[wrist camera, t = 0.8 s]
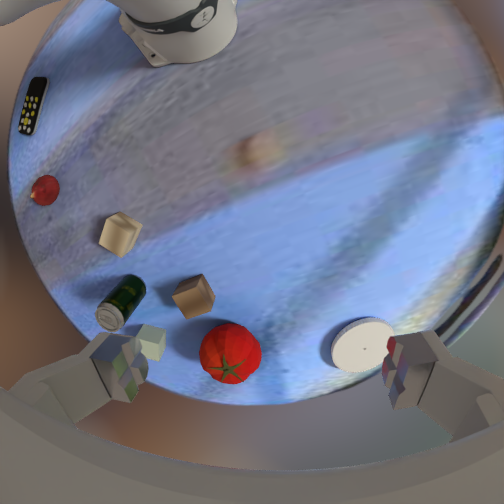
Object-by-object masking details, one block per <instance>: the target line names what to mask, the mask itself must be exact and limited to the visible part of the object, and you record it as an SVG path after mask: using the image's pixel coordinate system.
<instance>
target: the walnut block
mask: <svg viewBox="0 0 504 504" xmlns="http://www.w3.org/2000/svg"><path fill="white" fill-rule="evenodd" d="M215 297H216V296H215V295H214V293H213V291H212V289H211V288H210V286H209V284H208V282H207V281H206V279H205V277H204V275H203V274H201V275H198V276H196V277H193V278H191V279H188V280H186V281H183V282H181V283H179V285H178V287H177V288H176V290H175V292H174V293H173V295H172V298H173V299H174V301H175V303H176V304H177V306H178V307H179V309H180V310H181V312H182V314H183V315H184V317H185V318H186V319H189V318H192V317H195V316H198V315H201V314H204V313H207V312H210V311H211V309H212V306H213V303H214V300H215Z"/></svg>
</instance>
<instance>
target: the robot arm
mask: <svg viewBox="0 0 504 504" xmlns="http://www.w3.org/2000/svg"><path fill="white" fill-rule="evenodd" d="M56 1H60V0H0V26H3V25H6V24H9V23H11V22H14V21H15V20H17V19H19V18H20V17H22V16H24V15H25V14H27V13H29V12H31V11H33V10H35V9H37V8H39V7H42V6H44V5H47V4H49V3H52V2H56ZM106 1H108V2H110V3H112V4H114V5H115V6H117V7H119V8H120V10H121V12H122V13H121V16H120V18H119V23H120V24H121V26H122V30H123V31H124V32H125V33H126V34H127V35H129V36H130V37H131V39H132V40H133V41H134V43H135V44H136V45H137V46H138V48H139V49H140V50H141V52H142V53H143V54H144V56H145V57H146V58H147V60H148V61H149V62H150V64H151V65H152V66H153V67H161V66H164V65H167V64H170V63H193V62H198V61H202V60H205V59H207V58H210V57H212V56H214V55H215V54H217V53H218V52H220V51H221V50H222V49H224V48H225V47H226V46H227V45H228V44H229V42H230V41H231V40H232V38H233V36H234V34H235V32H236V29H237V16H236V12H235V7H236V4H237V0H106ZM154 54H156V55H155V57H153V58H152V56H153V55H154ZM141 349H142V344H141V342H140V339H139V338H137V337H135V336H128V335H121V334H113V333H107V332H101V333H99V334H98V335H97V336H96V337H95V338H94V339H93V340H92V341H91V342H90V343H89V344H88V345H87V346H86V347H85V348H84V349H83V350H82V351H81V352H80V353H79V354H78V355H72V356H70V357H67V358H65V359H62V360H60V361H57V362H55V363H52V364H50V365H47V366H45V367H42V368H40V369H37V370H34V371H32V372H29V373H27V374H25V375H24V376H23V377H22V378H21V379H20V380H19V381H18V382H17V383H16V384H15V385H14V386H13V387H12V388H11V389H10V390H9V391H6V390H5V389H3V388H1V387H0V504H504V379H503V378H501V377H498V376H496V375H494V374H492V373H490V372H488V371H486V370H483V369H481V368H479V367H477V366H475V365H473V364H470V363H468V362H467V361H464V360H462V359H460V358H458V357H455V358H453V357H452V355H451V354H450V352H449V351H448V350H447V348H446V347H445V345H444V344H443V343H442V341H441V340H440V339H439V337H438V336H437V334H436V333H435V332H434V331H433V330H426V331H420V332H417V333H411V334H404V335H396V336H390V337H389V339H388V342H387V349H388V352H389V353H388V354H387V355H386V356H385V357H384V360H383V365H382V376H383V381H384V384H385V386H386V387H388V388H390V392H389V395H388V396H389V398H390V401H391V404H392V407H393V410H396V409H402V408H408V407H413V406H418V408H419V409H421V410H422V411H423V412H424V413H426V414H427V415H428V416H429V417H430V418H431V419H433V420H434V421H435V422H436V423H437V424H439V425H440V426H441V427H442V428H444V429H445V430H446V431H447V432H448V433H450V434H451V435H452V436H453V437H452V439H451V440H450V441H449V443H448V444H445V445H442V446H439V447H436V448H432V449H429V450H426V451H422V452H419V453H415V454H412V455H408V456H403V457H399V458H395V459H390V460H385V461H380V462H375V463H370V464H363V465H356V466H349V467H341V468H330V469H319V470H318V469H317V470H296V471H295V470H294V471H272V470H271V471H270V470H249V469H236V468H226V467H217V466H210V465H203V464H197V463H191V462H186V461H180V460H176V459H170V458H166V457H162V456H158V455H154V454H150V453H146V452H142V451H139V450H135V449H132V448H129V447H125V446H122V445H119V444H116V443H113V442H110V441H108V440H105V439H102V438H99V437H97V436H94V435H92V434H89V433H87V432H84V431H82V430H79V429H77V428H76V426H75V425H74V424H75V423H76V422H78V421H80V420H81V419H82V418H84V417H86V416H87V415H89V414H90V413H92V412H93V411H95V410H96V409H98V408H99V407H101V406H103V405H104V404H105V403H107V402H109V401H110V400H111V399H115V400H119V401H124V402H128V403H131V402H132V400H133V399H134V397H135V396H136V394H137V392H138V391H139V390H138V385H139V384H141V383H143V382H144V381H145V379H146V377H147V374H148V362H147V359H146V357H145V356H144V355H143V354H142V353H141Z"/></svg>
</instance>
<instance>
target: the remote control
mask: <svg viewBox="0 0 504 504" xmlns="http://www.w3.org/2000/svg"><path fill="white" fill-rule="evenodd" d="M49 83H50V80H49V78H47V77H34V78H33V79H32V80H31V82H30V84H29V88H28V91H27V94H26V98H25V101H24V105H23V109H22V113H21V117H20V121H19V126H18V130H19V132H20V133H22V134H26V135H33V134H35V132H36V130H37V126H38V122H39V118H40V114H41V110H42V107H43V103H44V100H45V96H46V93H47V90H48V87H49Z"/></svg>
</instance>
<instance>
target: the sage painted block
mask: <svg viewBox="0 0 504 504" xmlns="http://www.w3.org/2000/svg"><path fill="white" fill-rule="evenodd" d="M136 337H137V338H139V339H140V342H141V344H142V349H141V353H142V354H143V355H144V356H145V357H146V358H148V359H151V360H155V361H160V359H161V356H162V354H163V352H164V350H165V348H166V329H162V328H158V327H154V326H151V325H147V324H143V326H142V328H141V329H140V331H139V333H138V334H137V336H136Z"/></svg>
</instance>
